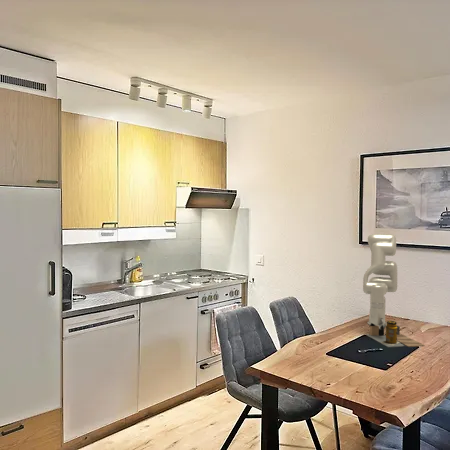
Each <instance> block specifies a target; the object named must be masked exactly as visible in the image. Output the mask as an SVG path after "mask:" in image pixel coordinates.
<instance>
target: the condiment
mask: <svg viewBox="0 0 450 450" xmlns="http://www.w3.org/2000/svg"><path fill="white" fill-rule="evenodd" d="M386 322H387V326H385V334H386V335H385V336H386V341H383V342H381V343H385V344H388V345H395V344H398V343H400V342H398V341H397V326H398V325H397V321H394V320H386ZM381 343H380V344H381Z"/></svg>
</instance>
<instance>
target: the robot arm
mask: <svg viewBox="0 0 450 450" xmlns="http://www.w3.org/2000/svg"><path fill="white" fill-rule="evenodd" d="M367 243H368V247H369V251H370V253H371V256H370V258H371V260H370V261H371V262H370V267H369V268H367V269H366V271H365V272H364V275H363V278H362V279H363V281H362V291H363V293H365V294H366V295H369V297H370V298H369V300H370V306H369V315H368V321H367V325H369V326H379V336H384V335H385V330H386V326H387V321H386V297H385V295H386V294H387V293H395V292H397V291H398V265H397V263H396V261H393V260H386V256H387V257H388V256H391V257H393V256H396V255H395V254H396V252H397V238H396V235H394V234H389V233H388V234H385V233H383V234H382V233H381V234H379V233H377V234H376V233H371V234H370V235H368V236H367ZM371 274H373V275H376V276H372V277H371V278H370V279H369V277H370V275H371ZM383 276H389V277H383Z"/></svg>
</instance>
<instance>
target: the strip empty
mask: <svg viewBox="0 0 450 450" xmlns="http://www.w3.org/2000/svg"><path fill="white" fill-rule="evenodd" d="M400 327H401V326H399V325H397V342H400V343H401V344H403V345H404V346H405V347H407V348H414V347H415V348H416V347H425V344H423V343H421V342H419V341H417V340H416V339H413V338H411V337H408V336H407V335H404V334H402V333H400V332H401V331H400V330H401V328H400ZM384 335H385V336H386V333H384Z"/></svg>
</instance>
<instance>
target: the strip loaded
mask: <svg viewBox="0 0 450 450" xmlns="http://www.w3.org/2000/svg"><path fill="white" fill-rule="evenodd" d="M368 329H369V330H368V333H367V334H366V336H367V337H369V338H370V339H373V340H374V341H376V342H377V343H379V344H381V345H383V346H385V347H387V348H399V347H405V345H404V344H402V343H398V344H395V345H388V344H385V343H381V342H383V341H386V335H385V334H384V336H379V326H370V325H369V327H368Z"/></svg>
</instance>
